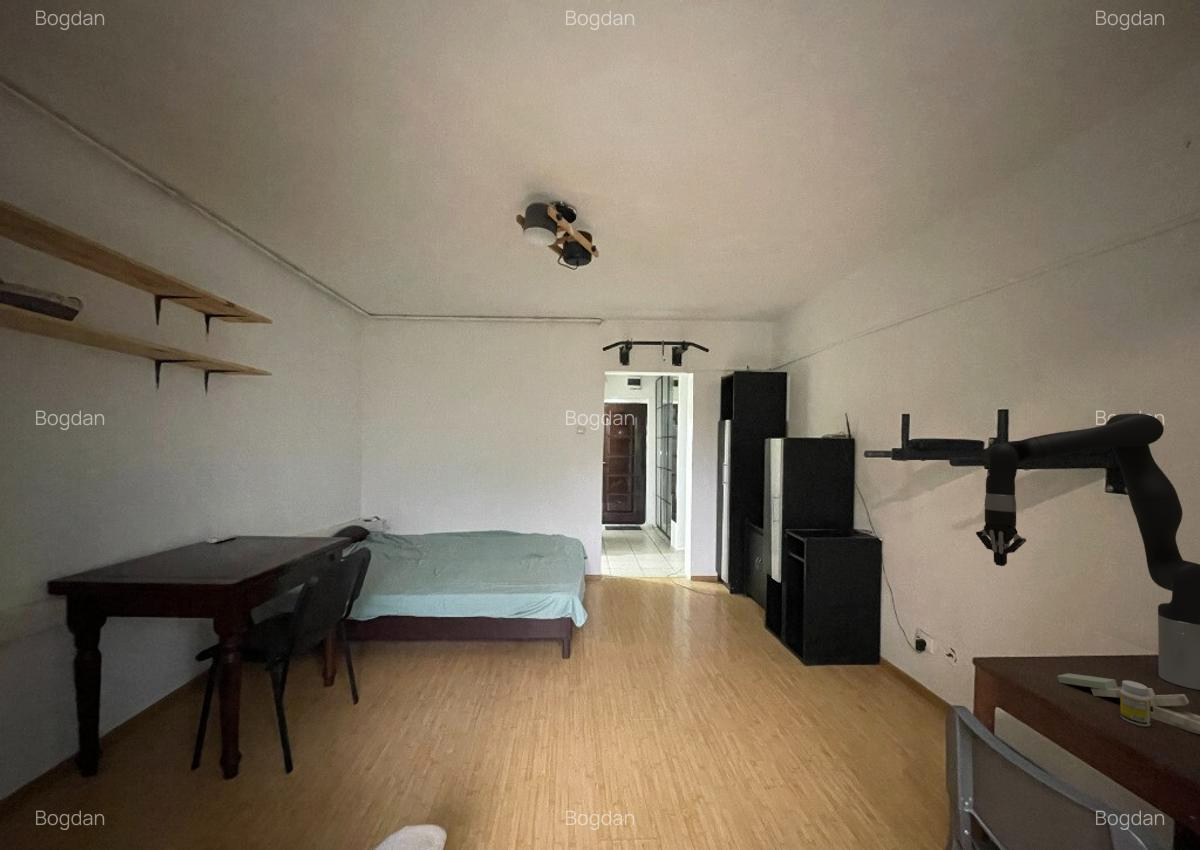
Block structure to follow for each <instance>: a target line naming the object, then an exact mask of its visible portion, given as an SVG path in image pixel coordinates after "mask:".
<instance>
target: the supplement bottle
mask: <svg viewBox="0 0 1200 850" xmlns="http://www.w3.org/2000/svg"><path fill="white" fill-rule="evenodd" d="M1121 682H1122V683H1121V687H1122V688H1123V689H1121V690H1120V697H1119V699H1120V700H1119V701H1120V717H1121V719H1122V720H1124V721H1126V722H1128V723H1130V724H1133V725H1137V726H1139V727H1150V726H1151V725H1152V720H1151V719H1152V718H1151V709H1150V697H1149V696H1148V695H1147V694H1148V688H1149V687H1147V686H1146V685H1144V684H1142V683H1140V682H1136V681H1133V680H1122V681H1121Z"/></svg>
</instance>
